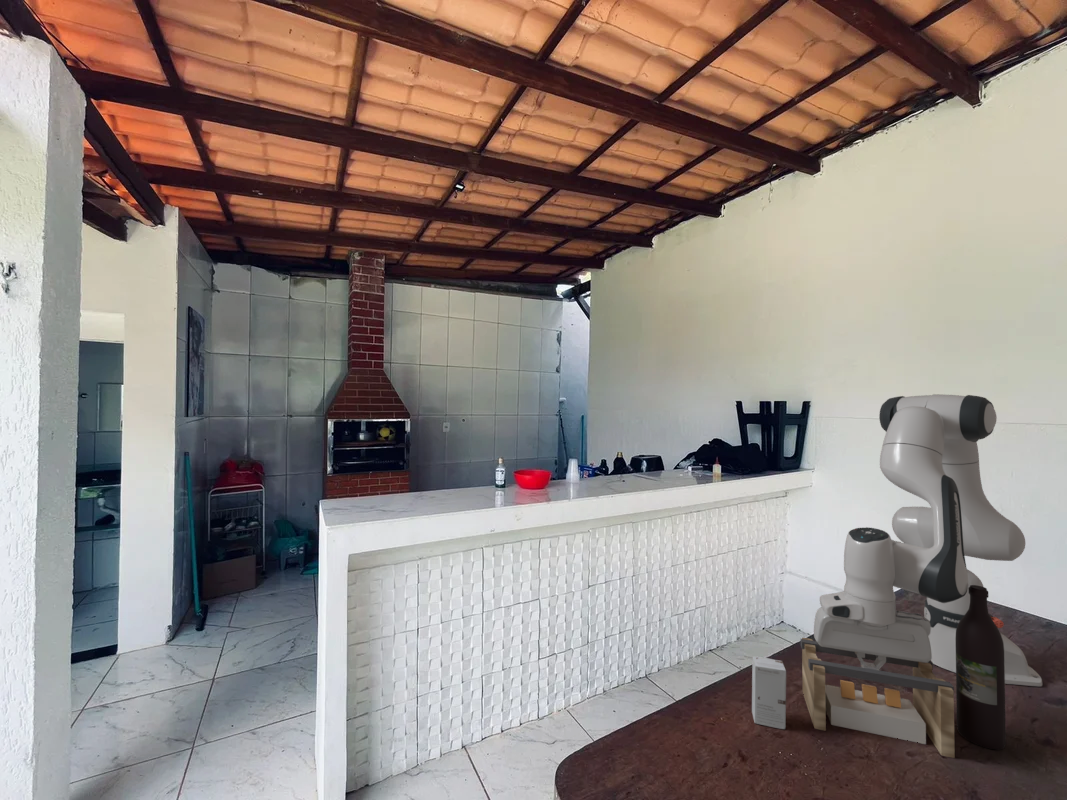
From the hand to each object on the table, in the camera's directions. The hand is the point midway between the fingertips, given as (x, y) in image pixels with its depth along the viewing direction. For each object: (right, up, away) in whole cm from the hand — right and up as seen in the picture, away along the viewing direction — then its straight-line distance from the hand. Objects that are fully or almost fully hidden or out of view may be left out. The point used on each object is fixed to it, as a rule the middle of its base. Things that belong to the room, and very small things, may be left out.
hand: (870, 673), depth 98 cm
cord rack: (0, -10, 0) cm, 10 cm away
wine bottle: (+18, -10, -5) cm, 22 cm away
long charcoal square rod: (+2, +1, +4) cm, 5 cm away
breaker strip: (0, -10, 0) cm, 10 cm away
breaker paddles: (0, -6, 0) cm, 6 cm away
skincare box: (-21, -10, 0) cm, 24 cm away
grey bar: (-2, +1, -4) cm, 5 cm away
